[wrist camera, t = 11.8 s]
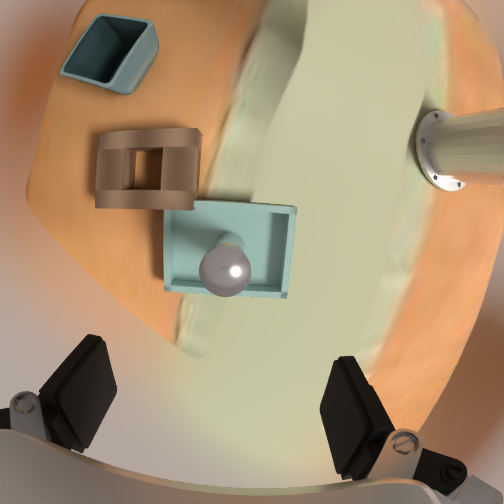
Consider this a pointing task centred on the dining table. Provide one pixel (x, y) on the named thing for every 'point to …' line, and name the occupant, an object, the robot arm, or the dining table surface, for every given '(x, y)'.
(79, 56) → the flower pot
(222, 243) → the pin
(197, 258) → the tray
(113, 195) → the socket block
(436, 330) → the dining table surface
